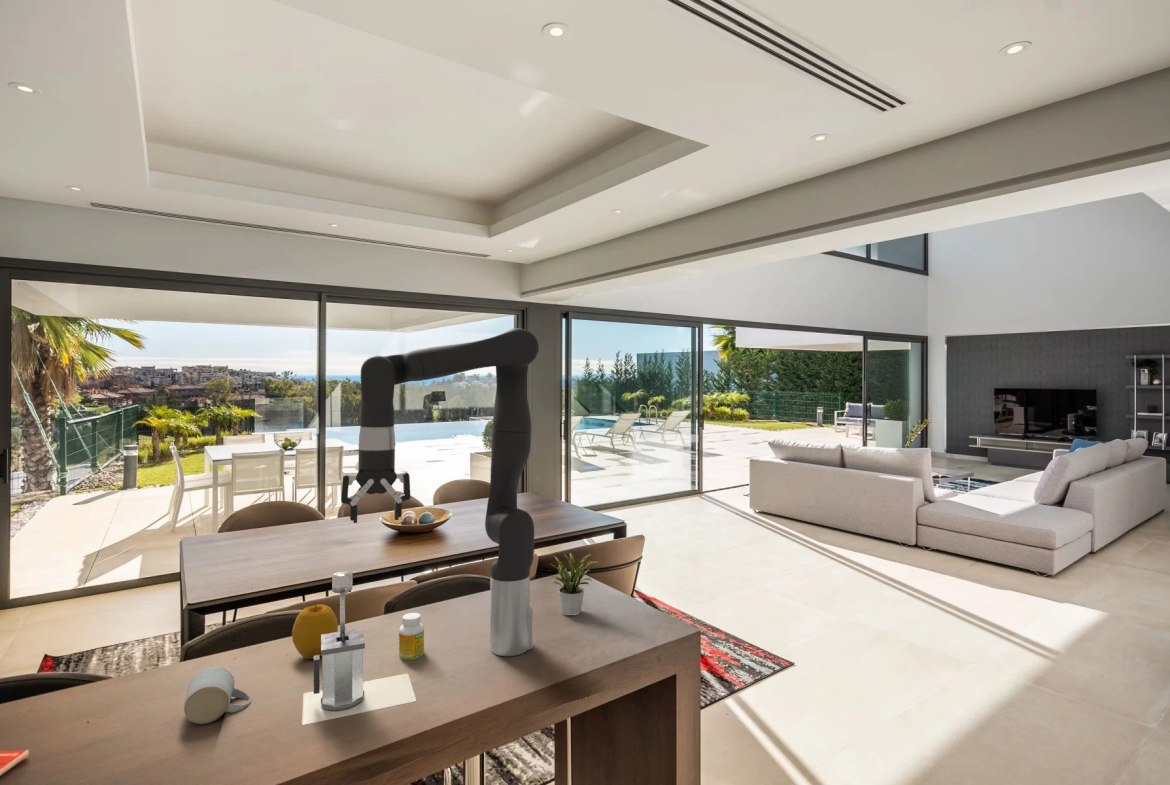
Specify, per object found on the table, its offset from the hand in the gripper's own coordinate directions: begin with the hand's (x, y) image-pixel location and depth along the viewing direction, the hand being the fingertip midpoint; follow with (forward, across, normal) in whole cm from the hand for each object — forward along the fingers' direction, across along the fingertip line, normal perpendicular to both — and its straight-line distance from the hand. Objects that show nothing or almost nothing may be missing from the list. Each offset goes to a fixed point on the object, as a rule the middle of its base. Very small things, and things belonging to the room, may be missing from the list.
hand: (375, 520), depth 130 cm
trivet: (+32, +4, +14) cm, 35 cm away
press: (+31, +6, +14) cm, 35 cm away
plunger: (+21, +7, +14) cm, 26 cm away
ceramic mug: (+33, +28, +8) cm, 44 cm away
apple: (+33, +12, -11) cm, 36 cm away
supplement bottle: (+32, -8, -1) cm, 33 cm away
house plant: (+32, -53, -12) cm, 63 cm away
